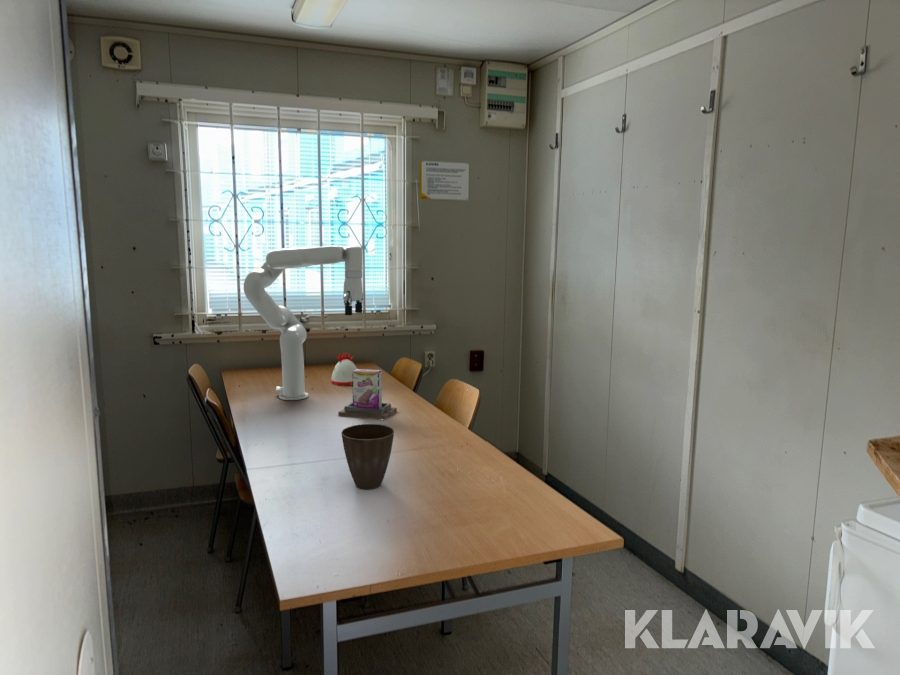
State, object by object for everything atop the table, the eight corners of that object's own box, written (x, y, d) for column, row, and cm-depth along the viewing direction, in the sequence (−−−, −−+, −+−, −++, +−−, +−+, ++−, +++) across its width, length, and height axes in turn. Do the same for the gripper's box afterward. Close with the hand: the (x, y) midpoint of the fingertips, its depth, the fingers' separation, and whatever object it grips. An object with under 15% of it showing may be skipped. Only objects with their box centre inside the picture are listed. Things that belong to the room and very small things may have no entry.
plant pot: (348, 474, 186) (347, 423, 184) (397, 475, 186) (397, 424, 183) (337, 494, 172) (336, 439, 169) (390, 495, 171) (390, 440, 169)
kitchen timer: (328, 380, 310) (327, 351, 307) (355, 378, 315) (354, 349, 313) (335, 386, 297) (334, 356, 295) (363, 384, 303) (362, 354, 300)
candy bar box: (352, 410, 250) (351, 371, 247) (355, 407, 255) (355, 368, 252) (379, 412, 248) (378, 372, 246) (382, 408, 253) (382, 369, 250)
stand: (384, 419, 243) (384, 411, 242) (338, 415, 248) (338, 407, 248) (396, 411, 255) (396, 403, 254) (352, 407, 260) (352, 399, 260)
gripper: (354, 273, 278) (354, 311, 281) (336, 275, 262) (336, 315, 264) (369, 274, 276) (370, 312, 278) (352, 276, 259) (352, 316, 262)
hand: (353, 313), depth 271 cm, fingers open, 9 cm apart
